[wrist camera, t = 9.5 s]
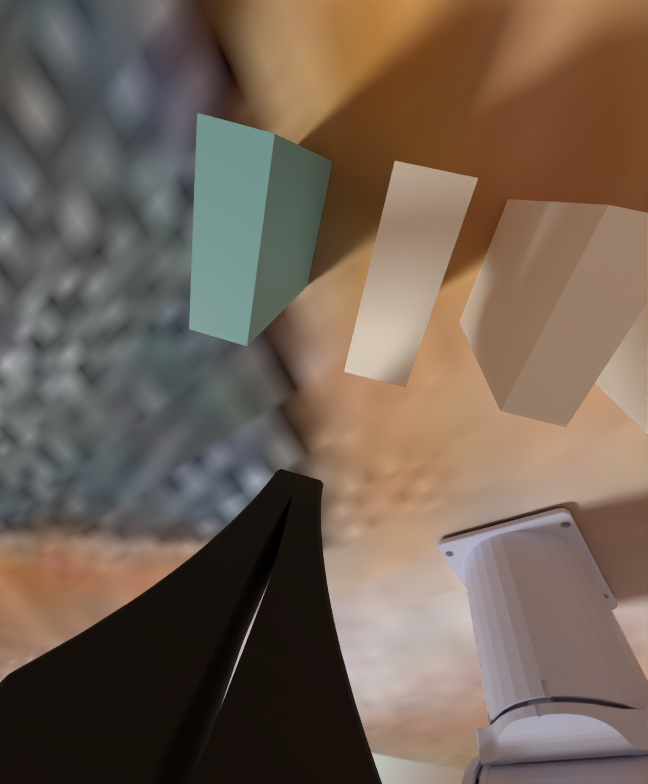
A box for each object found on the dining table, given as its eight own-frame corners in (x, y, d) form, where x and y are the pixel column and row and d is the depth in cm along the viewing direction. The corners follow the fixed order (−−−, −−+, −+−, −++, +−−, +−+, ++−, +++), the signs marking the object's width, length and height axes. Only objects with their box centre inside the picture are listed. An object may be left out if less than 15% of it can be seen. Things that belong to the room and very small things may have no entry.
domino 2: (441, 184, 14) (478, 178, 8) (403, 308, 17) (405, 387, 10) (397, 175, 15) (394, 161, 8) (366, 300, 17) (344, 371, 10)
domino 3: (553, 208, 14) (698, 223, 7) (497, 331, 17) (565, 427, 10) (507, 199, 14) (608, 204, 7) (459, 322, 17) (500, 410, 10)
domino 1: (332, 161, 15) (274, 133, 8) (307, 285, 17) (246, 346, 10) (291, 150, 15) (197, 112, 8) (272, 275, 17) (189, 329, 11)
